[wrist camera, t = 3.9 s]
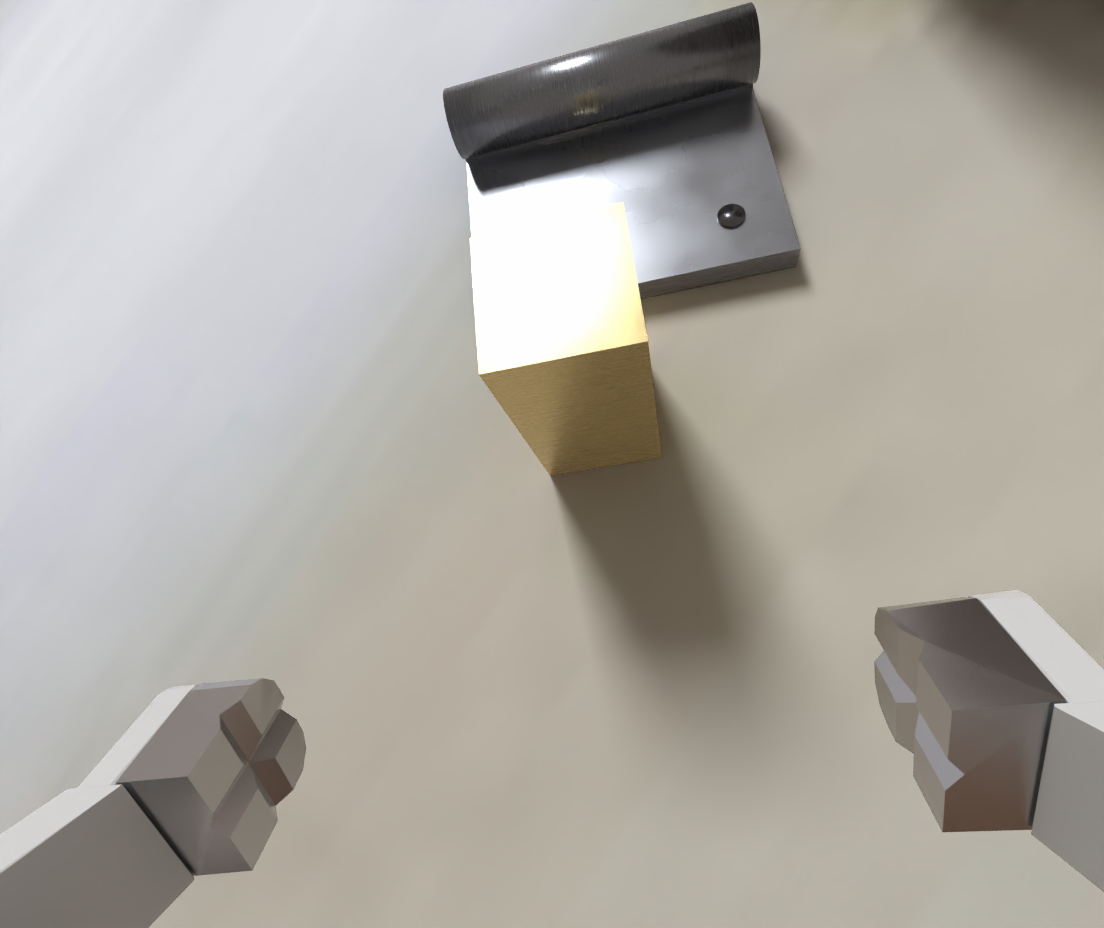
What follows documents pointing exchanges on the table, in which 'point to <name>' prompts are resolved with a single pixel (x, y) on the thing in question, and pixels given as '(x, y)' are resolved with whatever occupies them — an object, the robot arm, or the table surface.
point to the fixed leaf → (637, 149)
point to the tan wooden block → (567, 339)
